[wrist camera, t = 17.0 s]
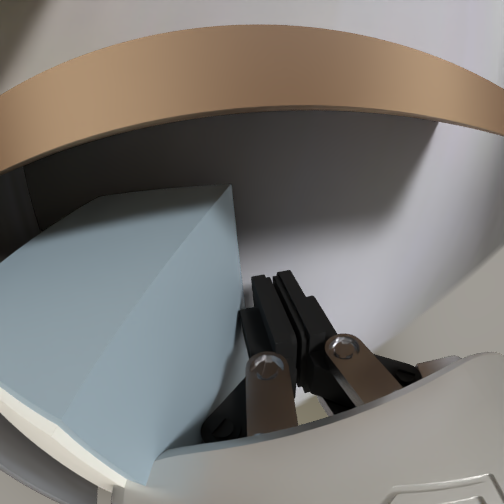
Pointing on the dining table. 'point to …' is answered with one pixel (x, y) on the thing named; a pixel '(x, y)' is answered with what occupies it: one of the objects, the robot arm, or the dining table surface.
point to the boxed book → (123, 329)
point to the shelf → (206, 105)
